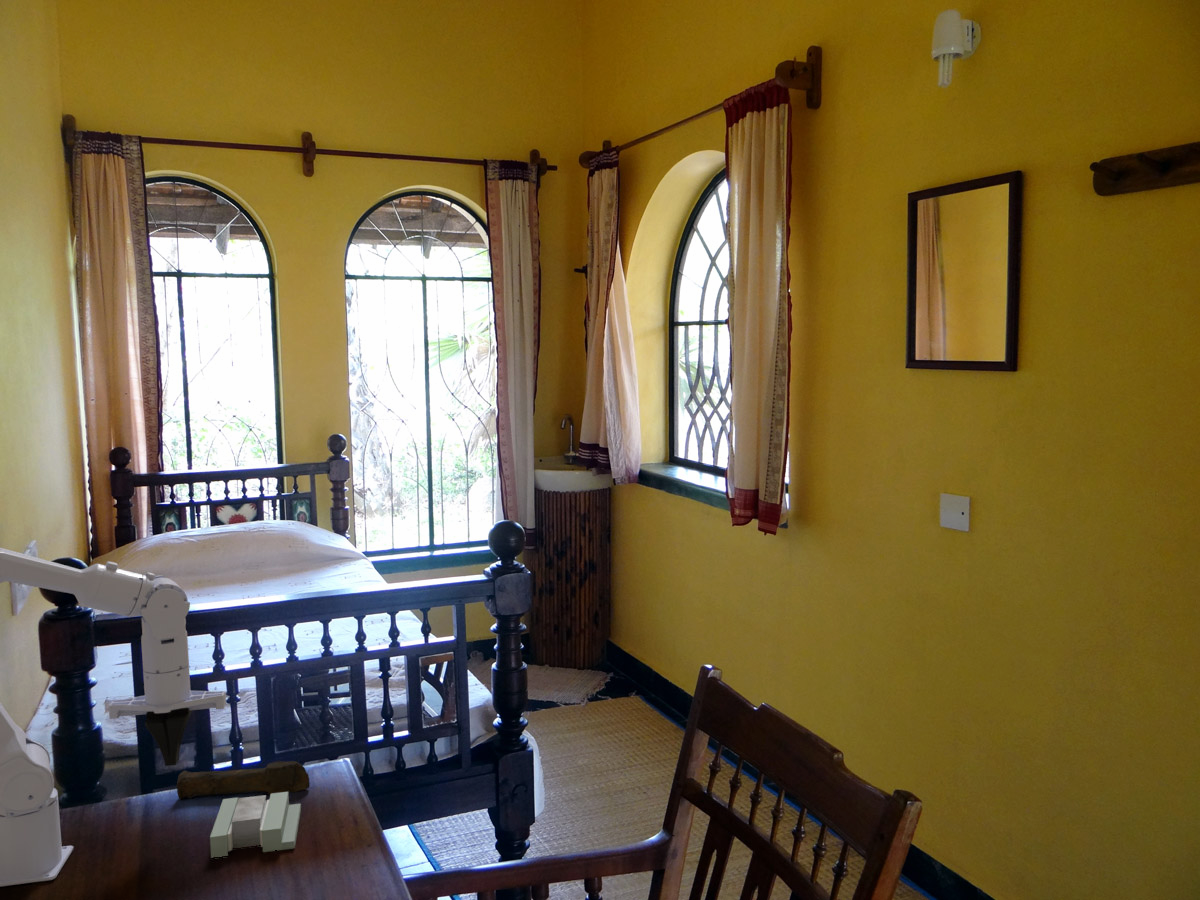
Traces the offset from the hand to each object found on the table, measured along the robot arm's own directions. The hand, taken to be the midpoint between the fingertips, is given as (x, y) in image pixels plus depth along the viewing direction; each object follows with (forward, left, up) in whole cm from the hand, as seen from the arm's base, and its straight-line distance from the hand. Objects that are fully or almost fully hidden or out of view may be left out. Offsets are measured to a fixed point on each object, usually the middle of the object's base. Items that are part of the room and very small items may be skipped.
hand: (172, 762), depth 130 cm
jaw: (+7, -4, -10) cm, 13 cm away
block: (+10, -4, -10) cm, 15 cm away
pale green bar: (+14, -4, -10) cm, 17 cm away
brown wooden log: (+8, +10, -10) cm, 16 cm away
